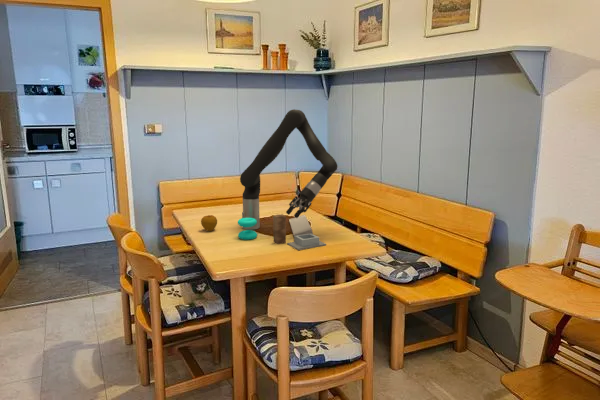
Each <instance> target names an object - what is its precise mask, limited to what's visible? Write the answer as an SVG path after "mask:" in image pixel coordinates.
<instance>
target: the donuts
mask: <svg viewBox="0 0 600 400" xmlns="http://www.w3.org/2000/svg"><path fill="white" fill-rule="evenodd" d="M256 224H257V220H256V219H254V218H242V217H241V218H239V219H238V220H237V225H238V226H240V227H252V226H255V225H256ZM237 237H238V239H240V240H244V241H246V240H249V241H250V240H254V239H256V238H257V237H258V233H257V232H256V230H254V229H253V230H248V229H242V230H241V231H239V232H238V233H237Z"/></svg>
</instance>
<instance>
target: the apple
mask: <svg viewBox="0 0 600 400" xmlns="http://www.w3.org/2000/svg"><path fill="white" fill-rule="evenodd" d="M200 224H201V226H202V228H203V229H204V230H205V231H206V232H212V231H214V230H215V228H216V227H217V224H218V219H217V217H216V216H214V215H213V214H208V215H205V216H203V217H202V218H201V220H200Z"/></svg>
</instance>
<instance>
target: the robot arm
mask: <svg viewBox="0 0 600 400" xmlns="http://www.w3.org/2000/svg"><path fill="white" fill-rule="evenodd" d="M295 129H297V130H298V132H299V133H300V134H301V136H302V137H303V139H304V141H305V144H306V146H307V148H308V150H309V151H310V153H311V154H312V156H313V157H314V158H315V159H316V160H317V161H319V162H320V164H321V165H322V166H321V167H320V169H319V170H318V172H317V173H316V174H315V175H313V177H312V178H311V179H310V181H309V182H307V184H306V185H305V186H304V187H303V188H302V189H301V191H300V192H299V195H300V196H299V197H298V196H294V197H293V199H292V200H291V201H290V202H289V204H288V205H289V207H288V209H287V210H286V211H285V213H286V214H287V215H290V214H291V213H292V212H293V211H294V209H297V211H296V212H295V213H294V215H293V216H294V218H295V217H296V218H298V217H299V216H301V214H303V213H307V211H308V210H309V208H310V207H311V206H312V202H313V201H314V200H315V198H316V197H317V195H318V194H319V193H320V191H321V190H322V188H324V186H325V184H326V183H327V181H328V180H329V178H331V176H332V175H334V173H335V172H336V171H337V170H338V163H337V161H336V159H335V158H334V157H333V156H332V155H331V154H330V153H329V152H328V151H327V150H326V148H325V146H324V145H323V143H322V142H321V141H320V139H319V137H318V136H317V135H316V134H315V132H314V130H313V128H312V127H311V125H310V123H309V121H308V119H307V117H306V115H305V113H304V112H303V111H302V110H300V109H295V108H294V109H291V110H288V111H287V113H286V114H285V115H284V117H283V119H282V120H281V123H279V126H278V127H277V128H276V129H275V131H274V132H273V133H272V134H271V135H270V137H269V138H268V140H267V141H266V142H265V143H264V145H263V146H262V147H261V149H260V150H259V151H258V153H257V154H256V156H255V157H254V159H253V161H251V163H250V164H249V165H248V166H247V168H246V169H244V170H243V172H242V173H241V174H240V177H239V181H240V184H241V185H242V186H243V187H244V190H243V192H242V212H241V218H254V219H256V220H257V224H256V225H255V226H252V227H242V230H253V231H254V230H258V229H260V193H261V173H262V172H263V171H264V170H265V168H267V167H268V166H269V165H271V163H272V162H274V160H276V158H277V157H278V156H279V155H280V153H281V152H282V150H283V149H284V147H285V144H286V143H287V139H288V138H289V136H290V135H291V133H292V132H293V131H294V130H295Z"/></svg>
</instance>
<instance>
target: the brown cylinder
mask: <svg viewBox="0 0 600 400" xmlns="http://www.w3.org/2000/svg"><path fill="white" fill-rule="evenodd" d="M272 217H273V218H272V219H273V221H272V223H273V224H272V225H273V226H272V228H273V229H272V230H273V243H274V244H276V245H280V244H286V243H287V221H286V219H287V216H286V215H285V214H275V215H272Z"/></svg>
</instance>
